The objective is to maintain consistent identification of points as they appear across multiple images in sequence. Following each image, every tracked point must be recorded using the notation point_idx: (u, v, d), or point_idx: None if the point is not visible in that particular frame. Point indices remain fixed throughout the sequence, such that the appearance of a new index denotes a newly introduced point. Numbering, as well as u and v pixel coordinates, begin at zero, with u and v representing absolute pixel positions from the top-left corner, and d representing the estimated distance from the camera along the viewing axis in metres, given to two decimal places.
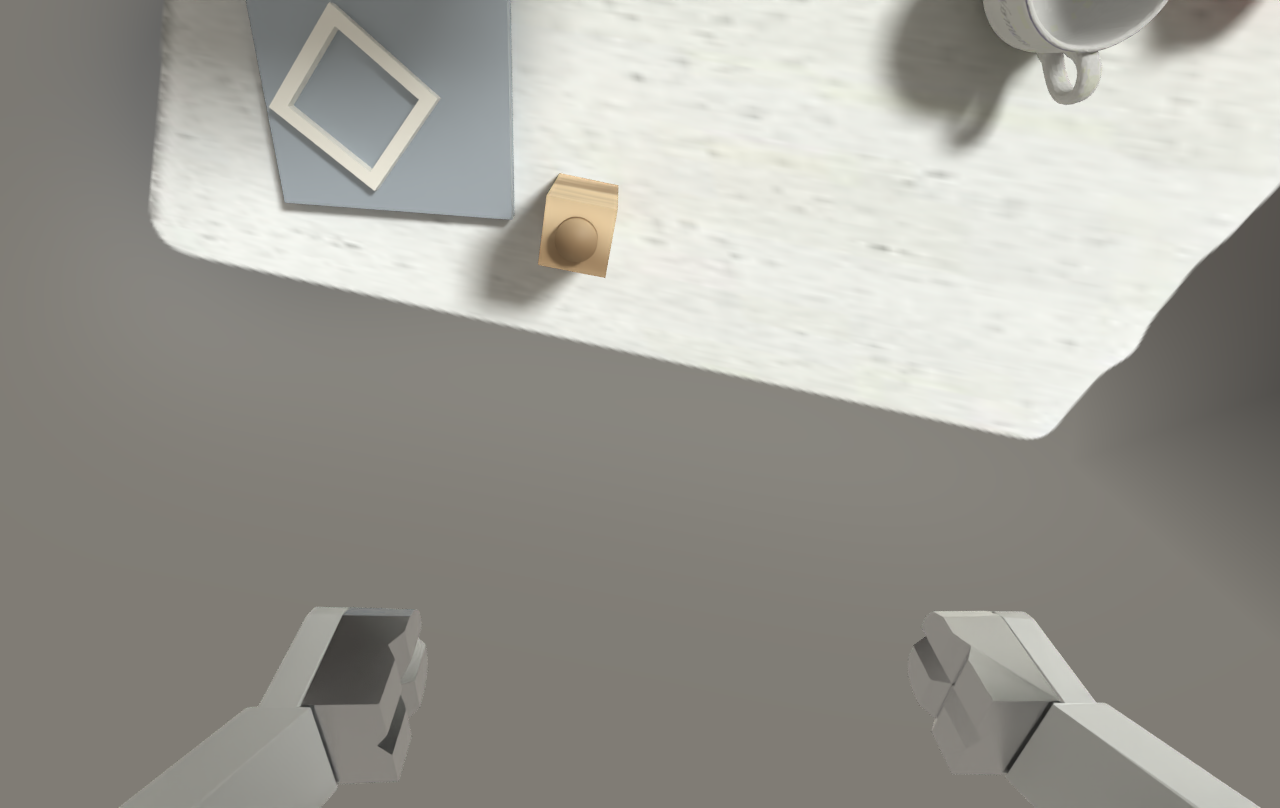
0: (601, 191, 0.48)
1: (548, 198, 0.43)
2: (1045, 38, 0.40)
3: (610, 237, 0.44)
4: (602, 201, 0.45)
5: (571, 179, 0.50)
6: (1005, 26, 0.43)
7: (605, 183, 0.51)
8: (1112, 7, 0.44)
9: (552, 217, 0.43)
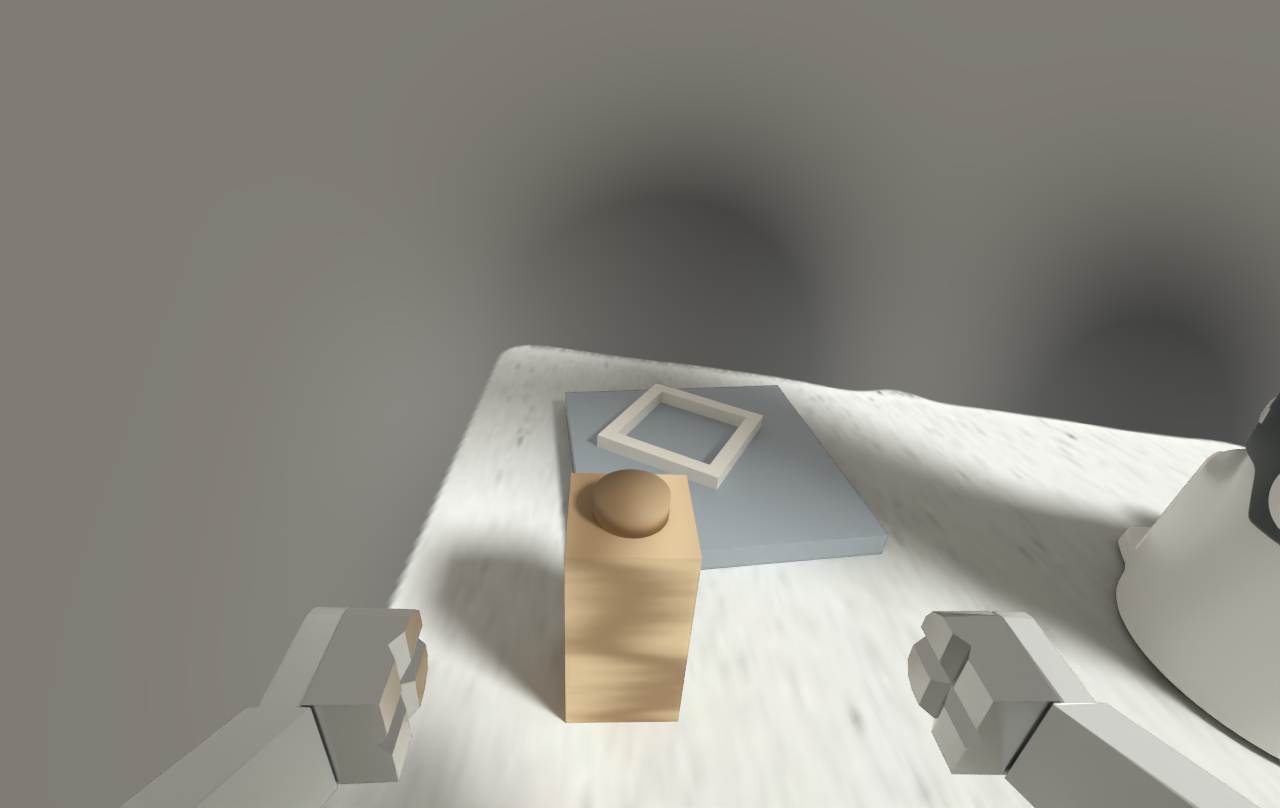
0: None
1: (682, 476, 0.26)
2: None
3: (647, 555, 0.22)
4: None
5: None
6: None
7: None
8: None
9: None
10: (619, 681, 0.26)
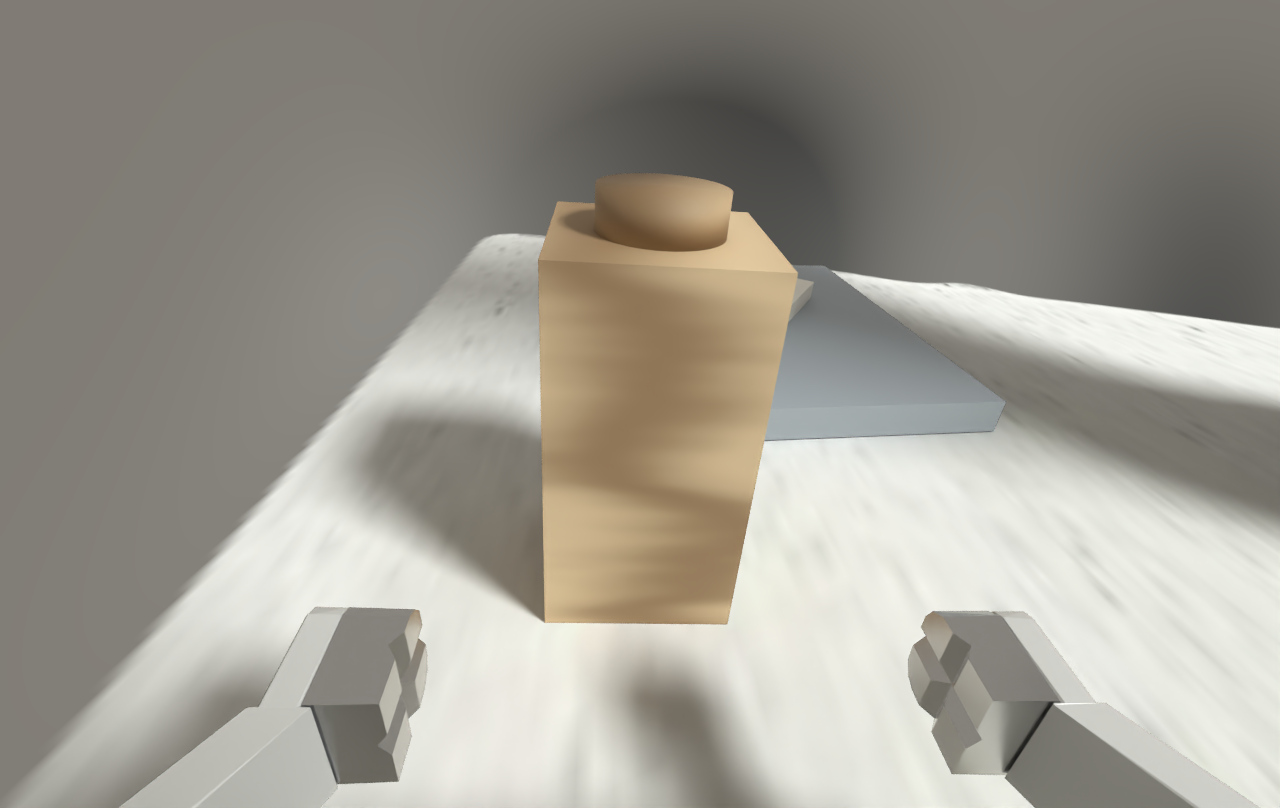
0: None
1: (741, 213, 0.16)
2: None
3: (695, 265, 0.12)
4: None
5: None
6: None
7: None
8: None
9: None
10: (635, 544, 0.15)
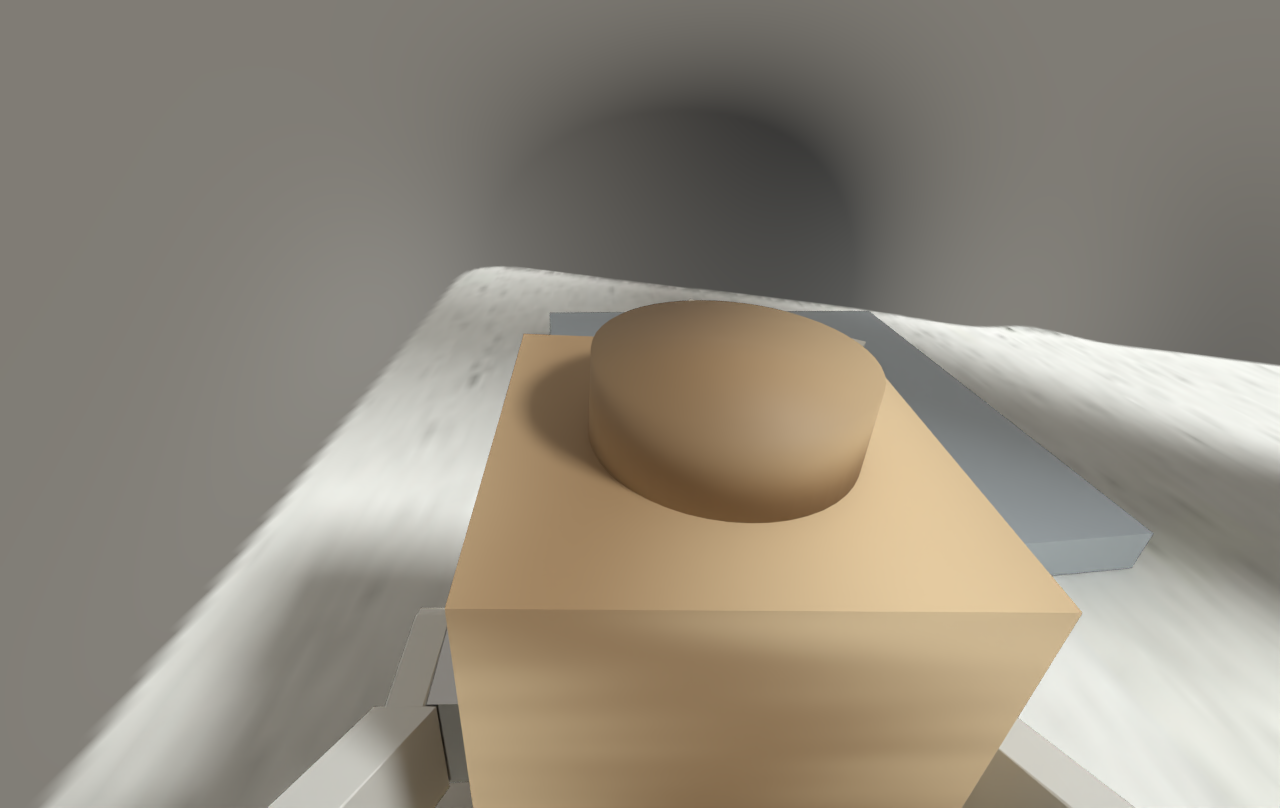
0: None
1: None
2: None
3: (833, 596, 0.05)
4: None
5: None
6: None
7: None
8: None
9: None
10: None
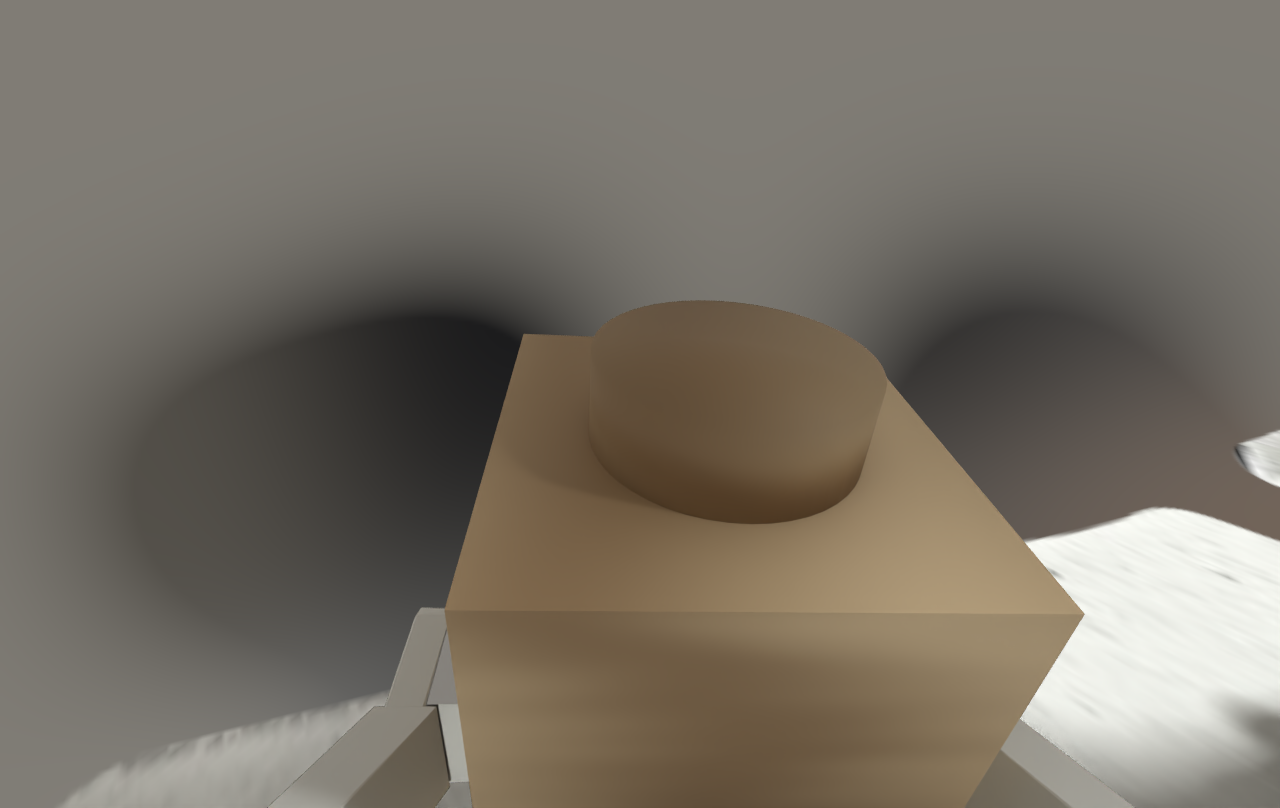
0: None
1: None
2: None
3: (834, 597, 0.05)
4: None
5: None
6: None
7: None
8: None
9: None
10: None
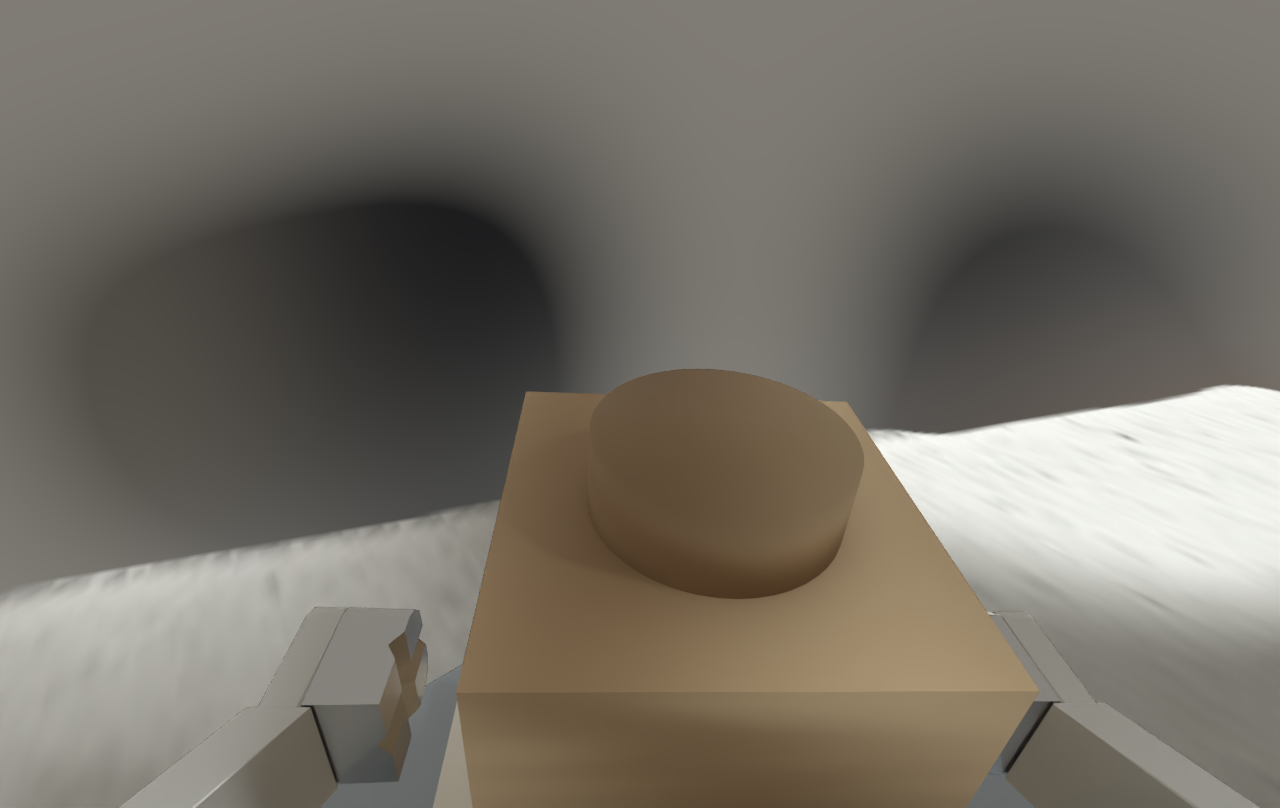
0: None
1: (838, 406, 0.09)
2: None
3: (811, 676, 0.05)
4: None
5: None
6: None
7: None
8: None
9: None
10: None
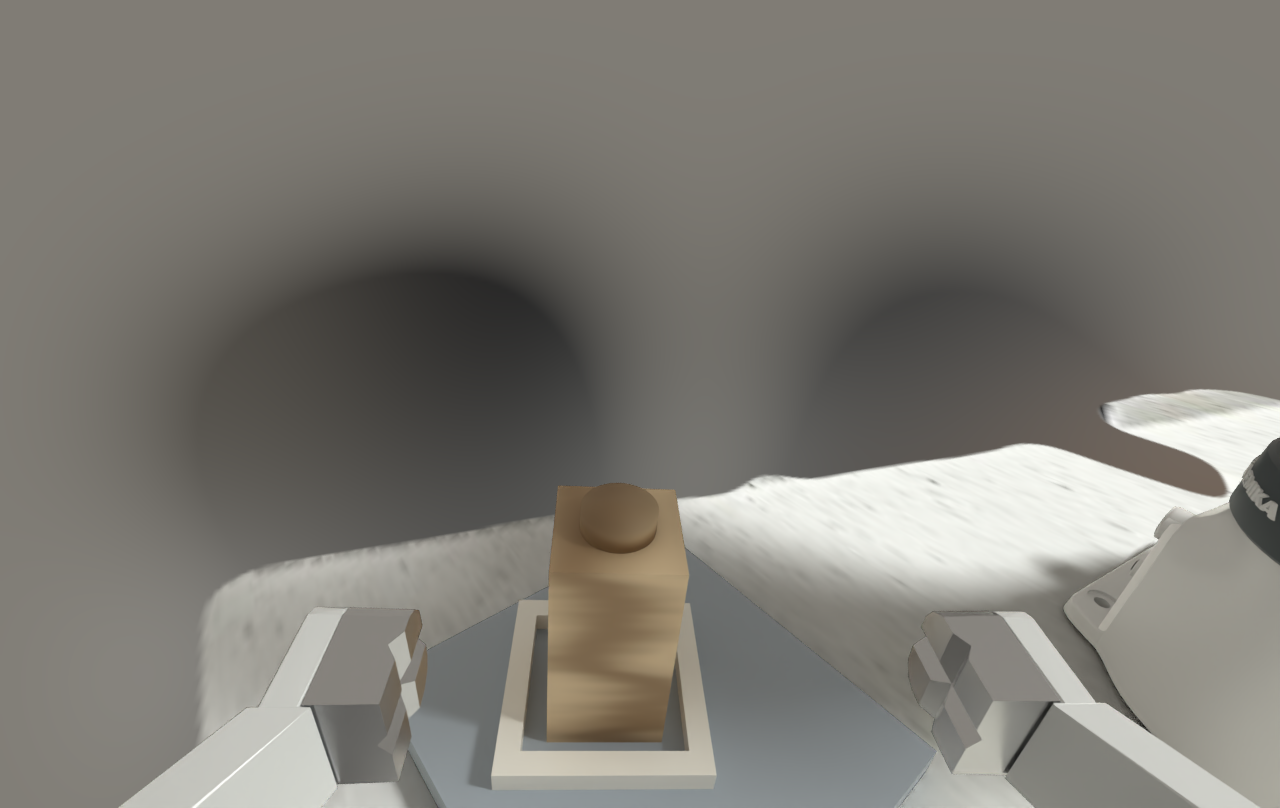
0: None
1: (671, 491, 0.26)
2: None
3: (633, 571, 0.22)
4: None
5: None
6: None
7: None
8: None
9: None
10: (602, 700, 0.25)
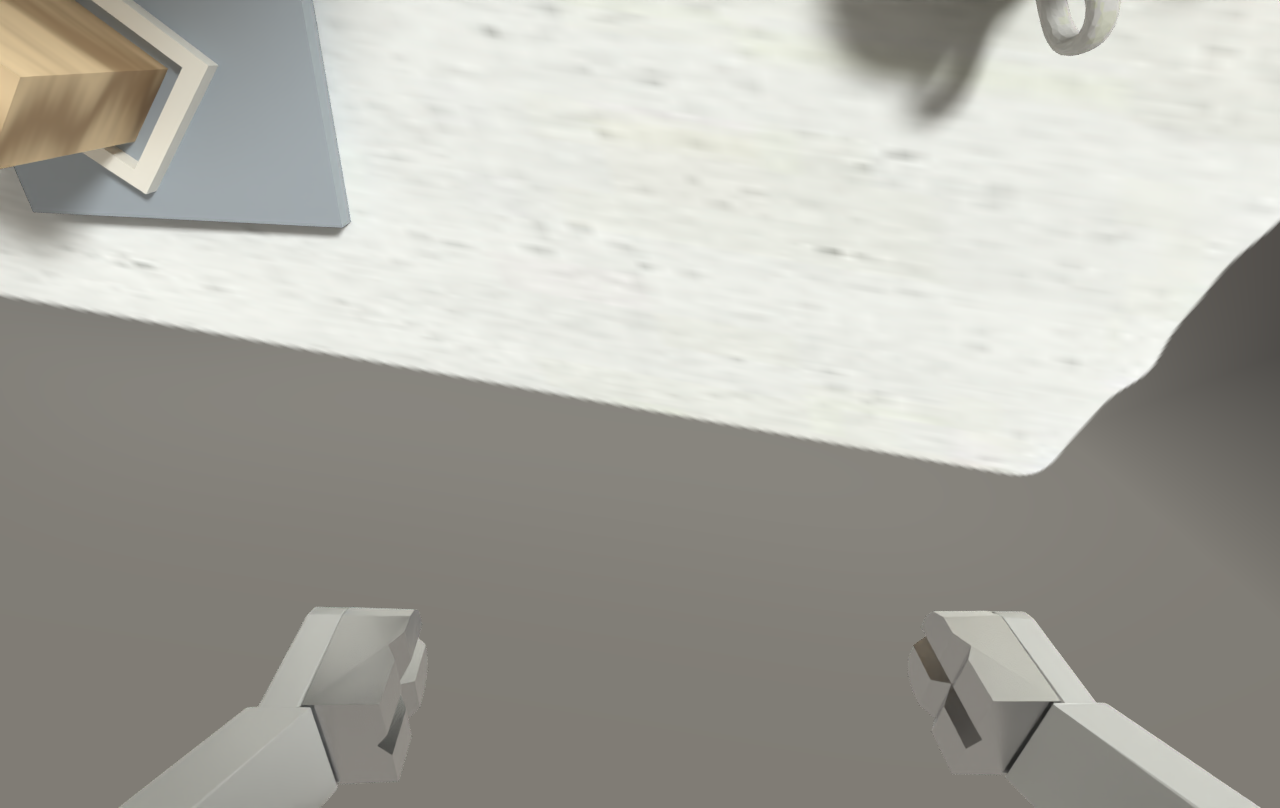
0: (86, 51, 0.30)
1: None
2: None
3: (2, 114, 0.26)
4: (26, 55, 0.27)
5: (69, 13, 0.31)
6: None
7: (144, 53, 0.34)
8: None
9: None
10: (114, 114, 0.33)
